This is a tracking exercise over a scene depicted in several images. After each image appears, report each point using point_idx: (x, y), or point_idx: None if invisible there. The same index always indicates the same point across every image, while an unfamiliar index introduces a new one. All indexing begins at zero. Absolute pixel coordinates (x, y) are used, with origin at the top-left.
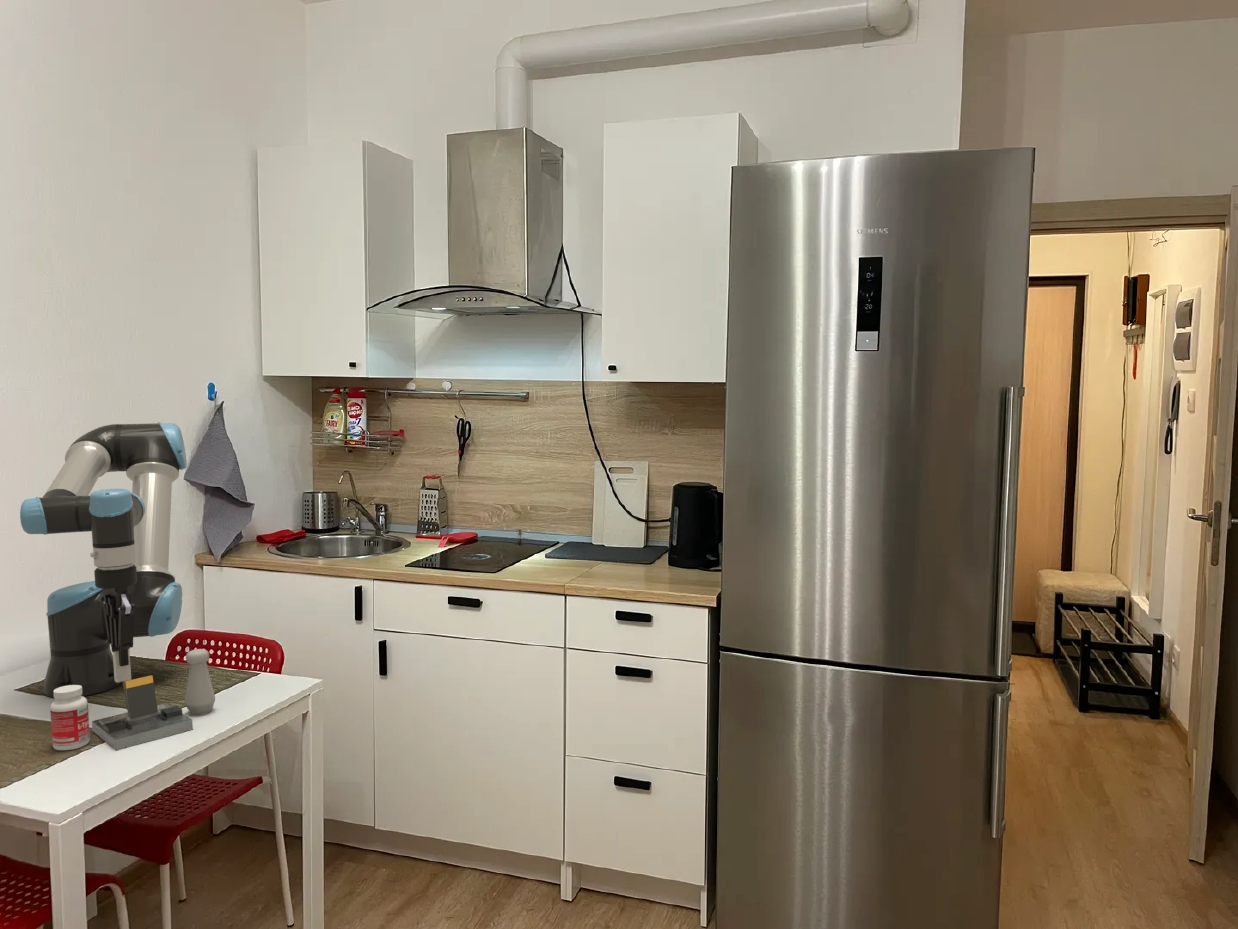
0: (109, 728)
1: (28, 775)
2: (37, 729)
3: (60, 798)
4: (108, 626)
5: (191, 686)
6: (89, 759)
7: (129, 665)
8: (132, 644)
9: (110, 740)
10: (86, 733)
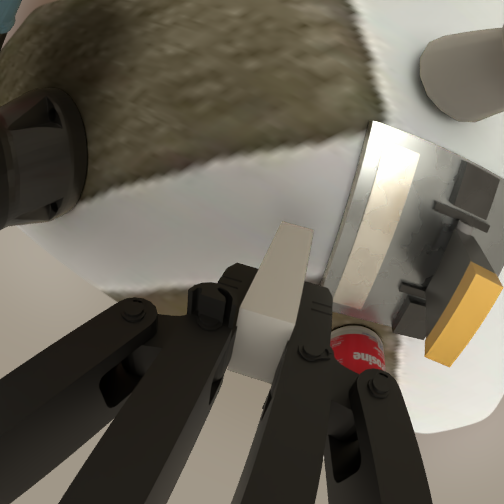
0: (424, 337)
1: None
2: None
3: (473, 413)
4: (86, 439)
5: (497, 111)
6: (434, 363)
7: (306, 263)
8: (399, 398)
9: None
10: (383, 355)
